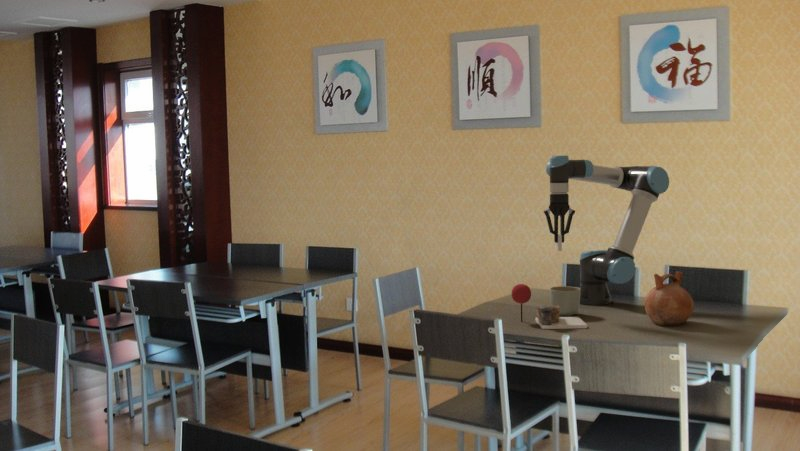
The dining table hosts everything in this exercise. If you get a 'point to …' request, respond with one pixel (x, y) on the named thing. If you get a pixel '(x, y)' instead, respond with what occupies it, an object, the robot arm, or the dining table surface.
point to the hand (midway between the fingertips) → (559, 250)
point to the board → (564, 323)
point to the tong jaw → (552, 312)
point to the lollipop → (521, 294)
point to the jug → (669, 301)
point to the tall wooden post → (544, 316)
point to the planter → (566, 299)
